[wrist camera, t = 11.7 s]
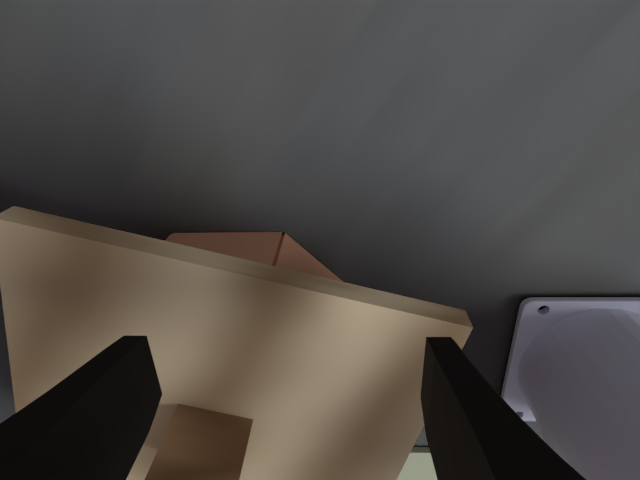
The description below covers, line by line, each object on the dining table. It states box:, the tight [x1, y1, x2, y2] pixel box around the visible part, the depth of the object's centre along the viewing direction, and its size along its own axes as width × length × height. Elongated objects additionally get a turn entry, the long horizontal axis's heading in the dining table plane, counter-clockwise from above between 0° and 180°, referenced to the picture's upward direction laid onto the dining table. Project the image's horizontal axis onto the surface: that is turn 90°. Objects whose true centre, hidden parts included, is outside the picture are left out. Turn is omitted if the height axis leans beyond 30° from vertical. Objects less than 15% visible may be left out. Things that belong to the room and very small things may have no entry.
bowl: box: [165, 232, 343, 282], centre depth 20 cm, size 13×13×5 cm
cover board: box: [0, 206, 473, 480], centre depth 16 cm, size 16×16×6 cm
